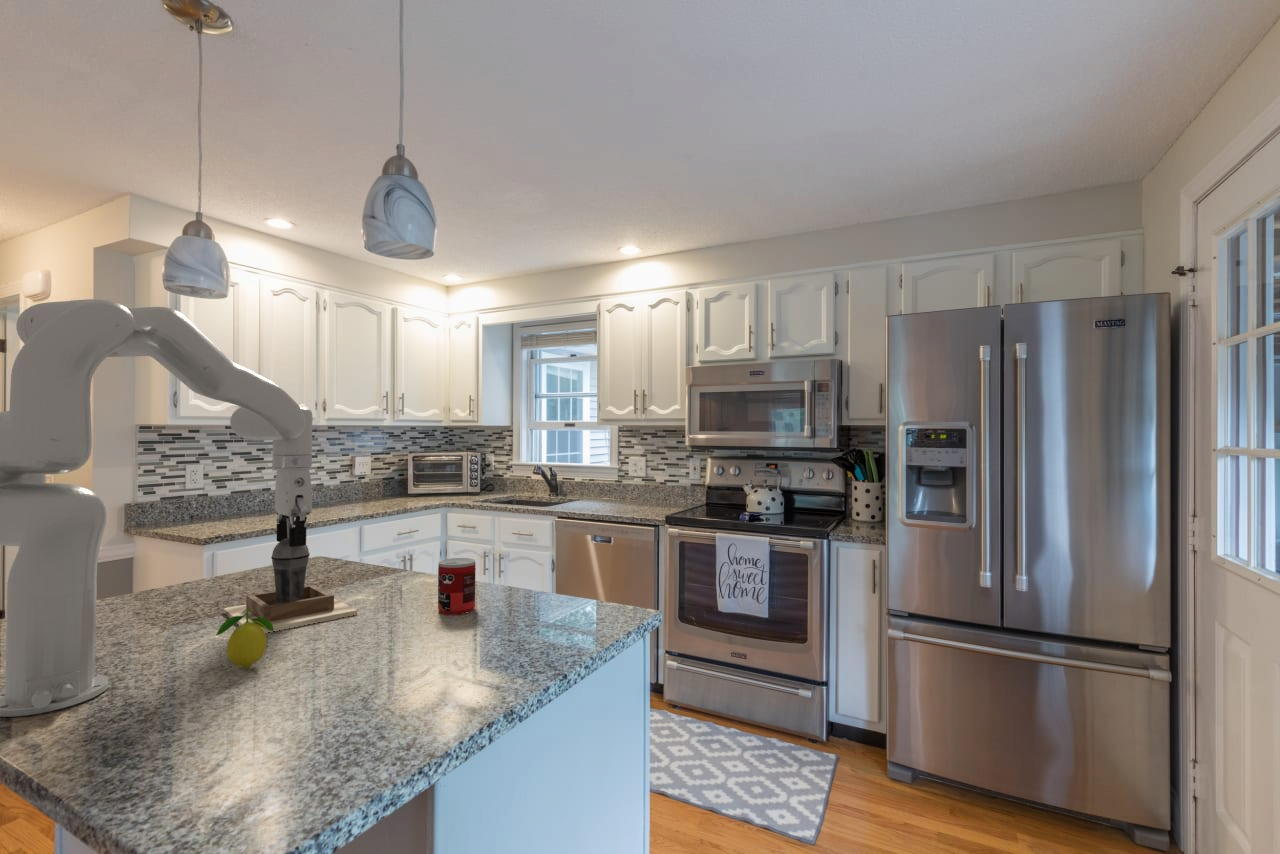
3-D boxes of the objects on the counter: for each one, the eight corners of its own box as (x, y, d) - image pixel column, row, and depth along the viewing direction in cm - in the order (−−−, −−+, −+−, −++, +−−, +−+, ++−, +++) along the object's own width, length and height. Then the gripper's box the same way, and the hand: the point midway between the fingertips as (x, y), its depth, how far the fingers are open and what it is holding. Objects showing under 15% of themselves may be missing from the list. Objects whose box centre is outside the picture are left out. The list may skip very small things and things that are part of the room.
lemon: (215, 677, 97) (216, 615, 97) (229, 664, 103) (230, 605, 103) (262, 673, 99) (263, 612, 99) (273, 660, 104) (274, 602, 104)
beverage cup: (315, 605, 135) (317, 515, 135) (293, 615, 127) (295, 520, 128) (285, 603, 135) (287, 514, 136) (261, 613, 128) (263, 519, 128)
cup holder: (357, 614, 131) (357, 596, 131) (250, 636, 117) (251, 615, 117) (321, 595, 146) (321, 579, 146) (223, 612, 132) (223, 594, 132)
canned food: (435, 607, 137) (436, 559, 137) (472, 604, 140) (472, 556, 140) (440, 617, 130) (440, 566, 130) (477, 612, 133) (478, 562, 133)
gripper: (324, 464, 129) (323, 546, 128) (298, 461, 141) (297, 536, 140) (285, 465, 123) (284, 551, 123) (261, 462, 135) (260, 540, 135)
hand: (291, 543), depth 132 cm, fingers open, 8 cm apart
